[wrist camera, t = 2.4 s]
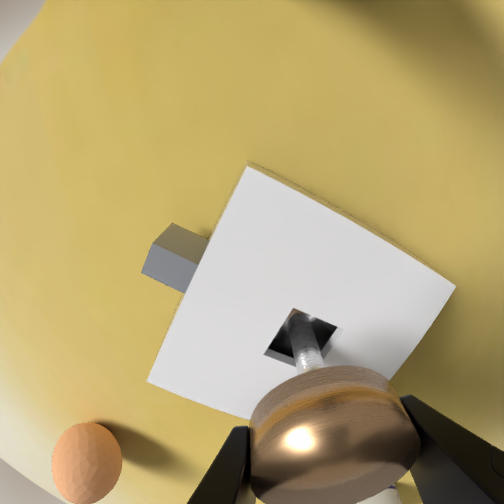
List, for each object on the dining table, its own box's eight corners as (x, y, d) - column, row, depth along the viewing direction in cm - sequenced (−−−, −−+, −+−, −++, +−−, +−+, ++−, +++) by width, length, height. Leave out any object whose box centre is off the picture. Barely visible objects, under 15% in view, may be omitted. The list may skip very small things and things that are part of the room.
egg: (130, 456, 24) (108, 526, 16) (74, 435, 24) (44, 499, 16) (132, 421, 22) (105, 501, 15) (70, 397, 22) (30, 468, 14)
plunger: (372, 292, 14) (469, 422, 6) (314, 375, 16) (351, 520, 7) (273, 242, 13) (309, 380, 5) (220, 339, 15) (201, 500, 7)
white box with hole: (397, 242, 18) (456, 285, 12) (313, 369, 21) (333, 441, 15) (213, 143, 16) (192, 140, 10) (144, 298, 19) (106, 362, 13)
